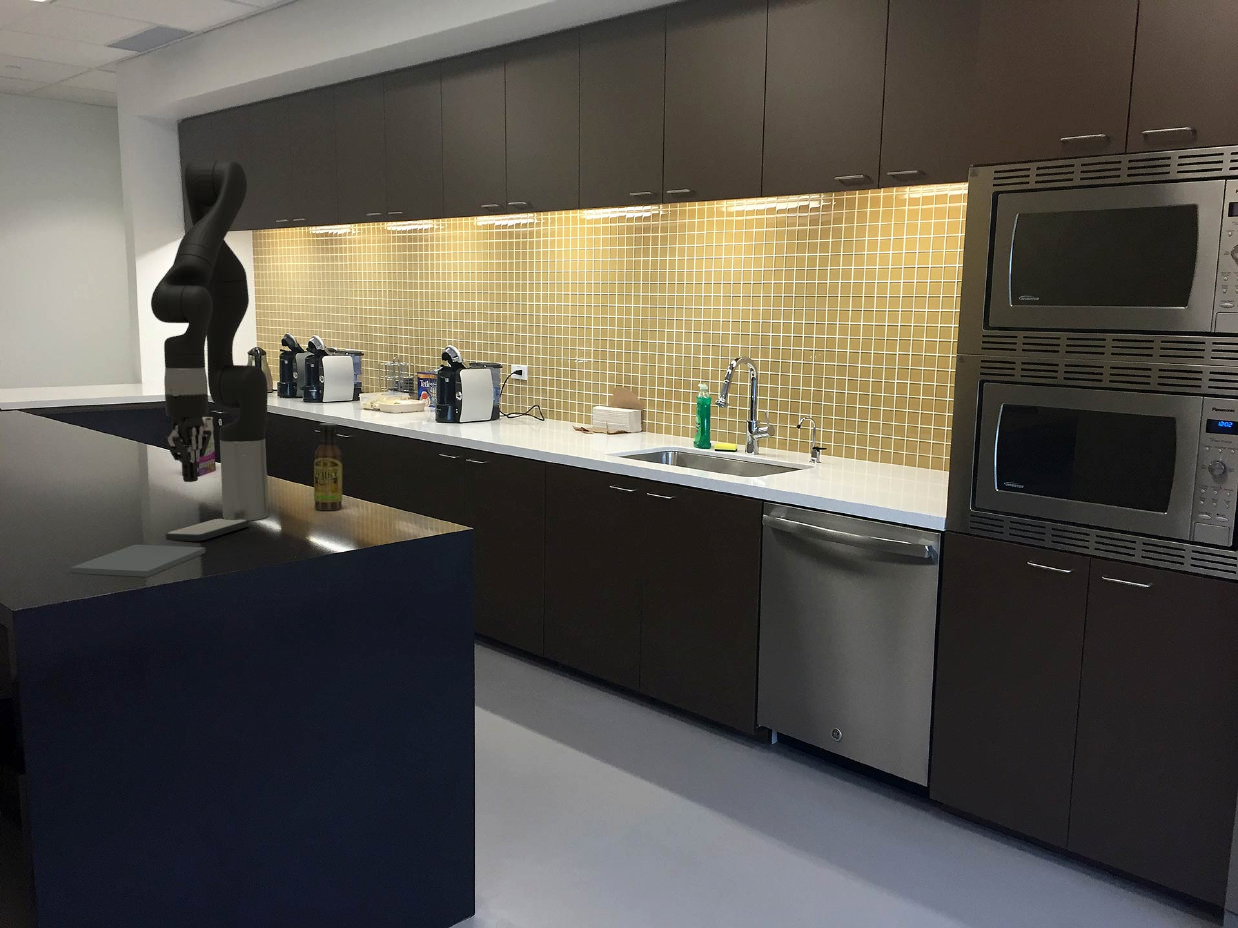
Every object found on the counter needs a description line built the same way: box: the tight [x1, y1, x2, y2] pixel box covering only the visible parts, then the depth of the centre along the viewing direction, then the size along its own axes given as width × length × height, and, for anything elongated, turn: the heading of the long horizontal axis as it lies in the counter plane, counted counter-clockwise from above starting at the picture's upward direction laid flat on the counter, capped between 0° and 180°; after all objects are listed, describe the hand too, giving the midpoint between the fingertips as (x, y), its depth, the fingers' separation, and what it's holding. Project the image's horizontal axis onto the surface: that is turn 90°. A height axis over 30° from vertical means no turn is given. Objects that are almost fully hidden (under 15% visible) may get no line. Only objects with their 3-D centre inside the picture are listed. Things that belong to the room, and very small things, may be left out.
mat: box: [69, 544, 206, 578], centre depth 175 cm, size 18×14×1 cm
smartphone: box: [165, 518, 250, 542], centre depth 199 cm, size 9×2×16 cm
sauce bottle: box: [313, 422, 343, 511], centre depth 226 cm, size 6×6×20 cm
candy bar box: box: [180, 416, 217, 478], centre depth 268 cm, size 11×5×16 cm, turn 179°
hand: (190, 481), depth 189 cm, fingers closed
